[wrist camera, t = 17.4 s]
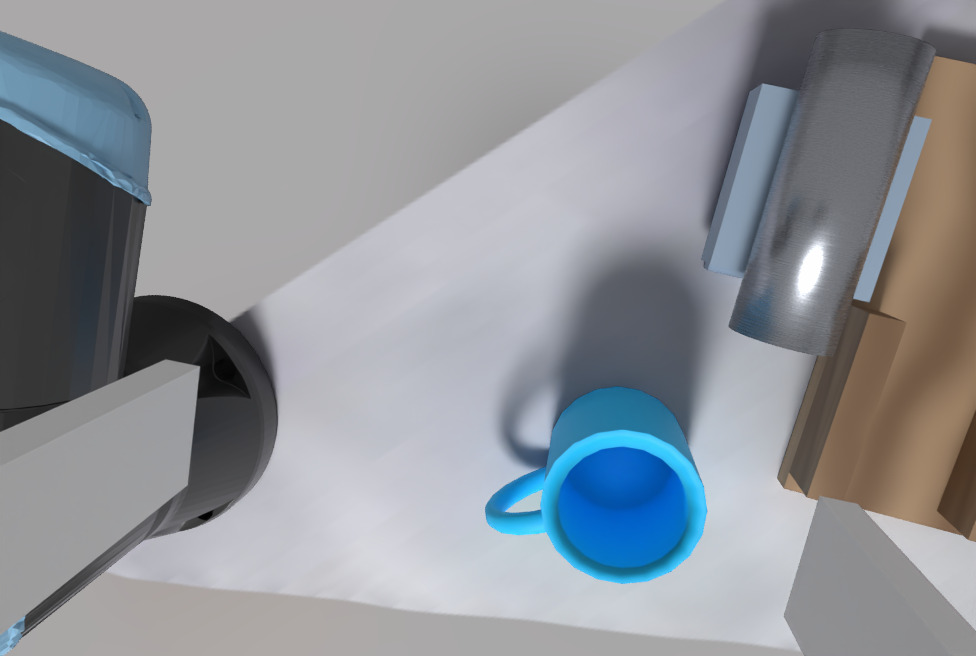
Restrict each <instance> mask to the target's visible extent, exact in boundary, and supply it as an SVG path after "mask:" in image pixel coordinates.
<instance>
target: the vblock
mask: <svg viewBox="0 0 976 656" xmlns="http://www.w3.org/2000/svg"><path fill="white" fill-rule="evenodd" d="M799 92H800V91H796V90H792V89H787V88H782V87H778V86H773V85H768V84H764V83H763V84H761V85H759V86H758V87H756V88H755V89H753V90H752V91H750V93H749V96H748V100H747V103H746V106H745V110H744V113H743V117H742V120H741V124H740V127H739V131H738V134H737V138H736V141H735V144H734V148H733V151H732V155H731V158H730V162H729V165H728V169H727V172H726V176H725V179H724V182H723V186H722V189H721V193H720V196H719V200H718V203H717V207H716V210H715V214H714V217H713V220H712V224H711V227H710V231H709V234H708V238H707V241H706V245H705V248H704V252H703V255H702V258H701V259H702V260H703V261H705V265H704V268H705V269H707V270H709V271H713V272H717V273H722V274H726V275H730V276H734V277H738V278H743V276H744V273H745V270H746V266H747V263H748V260H749V256H750V253H751V250H752V247H753V243H754V240H755V237H756V233H757V230H758V227H759V223H760V220H761V217H762V214H763V210H764V207H765V204H766V200H767V197H768V194H769V191H770V187H771V184H772V181H773V177H774V174H775V171H776V167H777V164H778V161H779V158H780V154H781V151H782V148H783V144H784V141H785V138H786V134H787V131H788V128H789V125H790V121H791V118H792V115H793V111H794V108H795V105H796V101H797V98H798V95H799ZM931 121H932V119H927V118H923V117H918V116H914V119H913V122H912V125H911V128H910V131H909V134H908V137H907V140H906V143H905V146H904V149H903V152H902V155H901V158H900V161H899V164H898V167H897V170H896V173H895V176H894V179H893V182H892V185H891V188H890V191H889V193H888V196H887V199H886V202H885V205H884V208H883V211H882V214H881V217H880V220H879V223H878V226H877V229H876V232H875V235H874V238H873V241H872V244H871V247H870V250H869V253H868V256H867V259H866V262H865V265H864V268H863V271H862V273H861V276H860V279H859V282H858V285H857V288H856V291H855V294H854V297H853V299H857V300H862V301H866V302H870V299H871V296H872V293H873V290H874V287H875V285H876V282H877V279H878V276H879V273H880V270H881V267H882V264H883V261H884V258H885V255H886V252H887V250H888V247H889V244H890V241H891V238H892V235H893V232H894V229H895V226H896V223H897V220H898V217H899V215H900V212H901V209H902V206H903V203H904V200H905V197H906V194H907V191H908V188H909V185H910V182H911V180H912V177H913V174H914V171H915V168H916V165H917V162H918V159H919V156H920V153H921V150H922V147H923V145H924V142H925V139H926V136H927V133H928V130H929V127H930V124H931Z"/></svg>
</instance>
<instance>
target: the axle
mask: <svg viewBox="0 0 976 656" xmlns="http://www.w3.org/2000/svg"><path fill="white" fill-rule="evenodd" d="M935 54H936V49H935V48H934V47H933V46H932V45H930V44H928V43H926V42H924V41H922V40H919V39H916V38H913V37H909V36H906V35H901V34H897V33H892V32H886V31H879V30H870V29H850V28H849V29H833V30H827V31H823V32H821V33H819V34H818V35H817V36H816V39H815V42H814V45H813V49H812V52H811V55H810V59H809V62H808V65H807V69H806V72H805V75H804V78H803V82H802V85H801V88H800V92H799V95H798V98H797V101H796V105H795V108H794V111H793V115H792V118H791V121H790V125H789V128H788V131H787V134H786V138H785V141H784V144H783V148H782V151H781V154H780V158H779V161H778V164H777V167H776V171H775V174H774V177H773V181H772V184H771V187H770V191H769V194H768V197H767V200H766V204H765V207H764V210H763V214H762V217H761V220H760V223H759V227H758V230H757V233H756V237H755V240H754V243H753V247H752V250H751V253H750V256H749V260H748V263H747V266H746V270H745V273H744V276H743V280H742V283H741V286H740V289H739V293H738V296H737V299H736V303H735V306H734V309H733V313H732V316H731V319H730V322H729V328H731V329H732V330H734V331H736V332H738V333H740V334H743V335H745V336H748V337H751V338H753V339H756V340H759V341H762V342H765V343H768V344H772V345H775V346H779V347H782V348H786V349H790V350H794V351H798V352H802V353H807V354H812V355H818V356H827V357H831V356H834V353H835V351H836V348H837V345H838V342H839V339H840V336H841V333H842V330H843V327H844V324H845V321H846V318H847V315H848V312H849V309H850V306H851V303H852V300H853V297H854V294H855V291H856V288H857V285H858V282H859V279H860V276H861V273H862V271H863V268H864V265H865V262H866V259H867V256H868V253H869V250H870V247H871V244H872V241H873V238H874V235H875V232H876V229H877V226H878V223H879V220H880V217H881V214H882V211H883V208H884V205H885V202H886V199H887V196H888V193H889V191H890V188H891V185H892V182H893V179H894V176H895V173H896V170H897V167H898V164H899V161H900V158H901V155H902V152H903V149H904V146H905V143H906V140H907V137H908V134H909V131H910V128H911V125H912V122H913V119H914V116H915V113H916V111H917V108H918V105H919V102H920V99H921V96H922V93H923V90H924V87H925V84H926V81H927V78H928V75H929V72H930V69H931V66H932V63H933V60H934V57H935Z"/></svg>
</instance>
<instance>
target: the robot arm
mask: <svg viewBox="0 0 976 656" xmlns="http://www.w3.org/2000/svg"><path fill="white" fill-rule="evenodd" d="M150 144H151V120H150V116H149V113H148V110H147V108H146V106H145V104H144V102H143V101H142V99H141V98H140V97H139V96H138V94H137V93H136V92H135V91H133V90H132V89H131V88H130V87H129V86H128V85H126V84H125V83H124V82H122V81H120V80H119V79H117V78H115V77H113V76H111V75H109V74H107V73H104V72H102V71H100V70H97V69H95V68H93V67H91V66H88V65H86V64H84V63H81V62H79V61H77V60H74V59H72V58H69V57H66V56H64V55H62V54H59V53H57V52H54V51H52V50H49V49H46V48H44V47H41V46H39V45H36V44H33V43H31V42H28V41H26V40H23V39H20V38H18V37H15V36H12V35H10V34H7V33H4V32H2V31H0V656H3V655H5V654H6V653H8V652H9V651H10V650H11V649H12V648H14V647H15V646H16V644H17V643H18V642H19V640H20V639H21V638H22V637H23V636H25V635H26V634H27V633H29V632H30V631H31V630H32V629H33V628H35V627H36V626H37V625H38V624H40V623H41V622H42V621H43V620H45V619H46V618H47V617H48V616H50V615H51V614H52V613H53V612H55V611H56V610H57V609H58V608H60V607H61V606H62V605H63V604H64V603H66V602H67V601H68V600H70V599H71V598H72V597H73V596H75V595H76V594H77V593H78V592H80V591H81V590H82V589H83V588H85V586H87V585H88V584H89V583H91V582H92V581H93V580H94V579H96V578H97V577H98V576H99V575H101V574H102V573H103V572H104V571H106V570H107V569H108V568H109V567H111V566H112V565H113V564H114V563H116V562H117V561H118V560H119V559H121V558H122V557H123V556H124V555H126V554H127V553H128V552H129V551H131V550H132V549H133V548H134V547H136V546H137V545H138V544H140V543H141V542H142V541H144V540H148V539H152V538H156V537H160V536H164V535H168V534H172V533H176V532H179V531H185V530H188V529H192V528H195V527H198V526H201V525H203V524H205V523H207V522H210V521H211V520H213V519H215V518H217V517H219V516H220V515H222V514H223V513H225V512H226V511H227V510H228V509H230V508H231V507H232V506H233V505H234V504H235V503H237V502H238V501H239V500H240V499H241V498H242V497H244V496H245V495H246V494H247V493H248V492H249V491H250V490H251V489H252V488H253V487H254V485H255V484H256V483H257V482H258V480H259V479H260V477H261V476H262V474H263V472H264V471H265V469H266V467H267V465H268V462H269V460H270V457H271V454H272V451H273V448H274V443H275V437H276V428H277V414H276V404H275V398H274V394H273V390H272V386H271V383H270V380H269V378H268V375H267V373H266V370H265V368H264V366H263V364H262V362H261V361H260V359H259V357H258V356H257V354H256V352H255V351H254V349H253V348H252V347H251V345H250V344H249V343H248V341H247V340H246V339H245V338H244V337H243V336H242V335H241V334H240V333H239V332H238V331H237V330H236V329H235V328H234V327H233V326H232V325H231V324H230V323H228V322H227V321H226V320H224V319H223V318H222V317H220V316H219V315H217V314H216V313H214V312H213V311H210V310H209V309H207V308H205V307H203V306H201V305H199V304H196V303H193V302H190V301H188V300H184V299H180V298H176V297H170V296H161V295H148V296H139V297H134V293H135V286H136V279H137V272H138V265H139V257H140V250H141V243H142V235H143V229H144V221H145V214H146V207H147V206H150V205H151V200H152V199H151V194H150V192H149V191H148V170H149V156H150ZM784 617H785V619H786V621H787V623H788V625H789V627H790V629H791V631H792V633H793V635H794V637H795V639H796V641H797V643H798V645H799V647H800V649H801V651H802V652H803V654H804V656H976V631H975V630H974V629H973V627H972V626H971V625H970V624H969V623H968V622H967V621H966V620H965V619H964V618H963V617H962V616H961V615H960V613H959V612H958V611H957V610H956V609H955V608H954V607H953V606H952V605H951V604H950V603H949V602H948V601H947V599H946V598H945V597H944V596H943V595H942V594H941V593H940V592H939V591H938V590H937V589H936V588H935V587H934V585H933V584H932V583H931V582H930V581H929V580H928V579H927V578H926V577H925V576H924V575H923V574H922V573H921V571H920V570H919V569H918V568H917V567H916V566H915V565H914V564H913V563H912V562H911V561H910V560H909V559H908V557H907V556H906V555H905V554H904V553H903V552H902V551H901V550H900V549H899V548H898V547H897V546H896V544H895V543H894V542H893V541H892V540H891V539H890V538H889V537H888V536H887V535H886V534H885V533H884V532H883V530H882V529H881V528H880V527H879V526H878V525H877V524H876V523H875V522H874V521H873V520H872V519H871V518H870V516H869V515H868V514H867V513H866V512H865V511H864V510H863V509H862V508H861V507H860V506H859V505H858V504H856V503H851V502H847V501H842V500H837V499H832V498H827V497H823V496H819V499H818V503H817V506H816V509H815V513H814V516H813V519H812V523H811V526H810V530H809V533H808V536H807V540H806V543H805V546H804V550H803V553H802V556H801V560H800V563H799V566H798V570H797V573H796V577H795V580H794V583H793V587H792V590H791V593H790V597H789V600H788V603H787V607H786V610H785V613H784Z"/></svg>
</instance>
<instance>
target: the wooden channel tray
mask: <svg viewBox="0 0 976 656" xmlns="http://www.w3.org/2000/svg"><path fill="white" fill-rule="evenodd" d="M915 116H918V117H923V118H927V119H932V121H931V124H930V127H929V130H928V133H927V136H926V139H925V142H924V145H923V147H922V150H921V153H920V156H919V159H918V162H917V165H916V168H915V171H914V174H913V177H912V180H911V182H910V185H909V188H908V191H907V194H906V197H905V200H904V203H903V206H902V209H901V212H900V215H899V217H898V220H897V223H896V226H895V229H894V232H893V235H892V238H891V241H890V244H889V247H888V250H887V252H886V255H885V258H884V261H883V264H882V267H881V270H880V273H879V276H878V279H877V282H876V285H875V287H874V290H873V293H872V296H871V299H870V302H866V301H862V300H857V299H853V300H852V303H851V306H850V309H849V312H848V315H847V318H846V321H845V324H844V327H843V330H842V333H841V336H840V339H839V342H838V345H837V348H836V351H835V353H834V356H831V357H827V356H818V357H817V360H816V363H815V366H814V369H813V372H812V375H811V378H810V381H809V384H808V387H807V390H806V393H805V396H804V399H803V402H802V405H801V408H800V411H799V414H798V417H797V420H796V423H795V426H794V429H793V432H792V435H791V438H790V441H789V444H788V447H787V450H786V453H785V456H784V459H783V462H782V465H781V469H780V472H779V475H778V478H777V479H778V480H779V482H780V483H781V485H782V486H783V488H784V489H788V490H792V491H796V492H800V493H803V494H805V496H806V497H808V498H811V499H815V500H818V499H819V496H823V497H827V498H832V499H837V500H842V501H847V502H851V503H856V504H858V505H859V506H860V507H861V508H862V509H864V510H868V511H872V512H876V513H879V514H883V515H887V516H891V517H895V518H898V519H902V520H906V521H910V522H914V523H917V524H921V525H925V526H929V527H933V528H936V529H940V530H944V531H948V532H951V533H955V534H959V535H963V536H964V537H965V538H967V539H968V540H970V541H974V542H976V64H972V63H967V62H962V61H957V60H952V59H948V58H943V57H938V56H935V57H934V60H933V63H932V66H931V69H930V72H929V75H928V78H927V81H926V84H925V87H924V90H923V93H922V96H921V99H920V102H919V105H918V108H917V111H916V113H915Z"/></svg>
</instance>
